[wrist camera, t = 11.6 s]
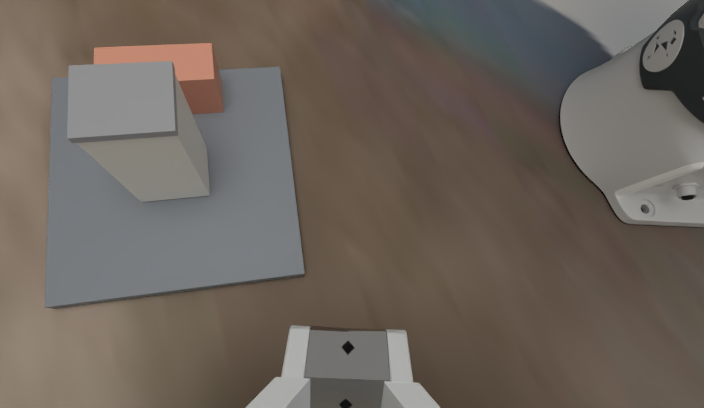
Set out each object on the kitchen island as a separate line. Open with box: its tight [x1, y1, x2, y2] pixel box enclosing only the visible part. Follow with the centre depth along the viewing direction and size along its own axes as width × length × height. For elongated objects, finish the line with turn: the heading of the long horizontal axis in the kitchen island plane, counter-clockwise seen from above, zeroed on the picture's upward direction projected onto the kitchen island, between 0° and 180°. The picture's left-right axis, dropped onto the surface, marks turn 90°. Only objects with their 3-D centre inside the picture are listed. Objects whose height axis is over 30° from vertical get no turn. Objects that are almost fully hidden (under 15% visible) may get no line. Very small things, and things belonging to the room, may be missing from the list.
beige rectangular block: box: [67, 61, 210, 202], centre depth 29 cm, size 5×4×12 cm
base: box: [45, 43, 305, 309], centre depth 33 cm, size 18×18×6 cm
